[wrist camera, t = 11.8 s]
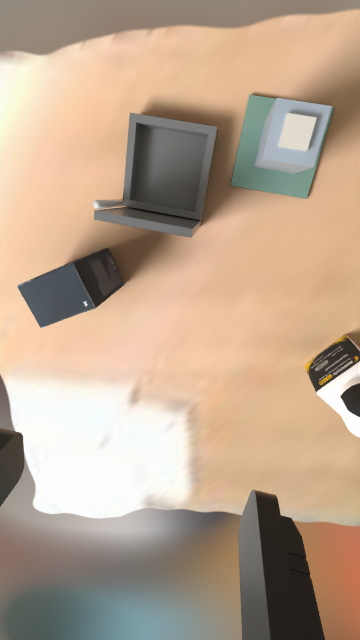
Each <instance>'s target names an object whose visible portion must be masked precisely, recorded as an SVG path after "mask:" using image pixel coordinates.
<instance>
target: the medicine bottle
mask: <svg viewBox="0 0 360 640" xmlns="http://www.w3.org/2000/svg"><path fill="white" fill-rule="evenodd" d="M305 369H306V371H307V373H308V375H309V377H310V380H311V382H312V384H313V386H314V388H315V390H316V393H317V394H318V395H319V396H320V397H321V398H322V399H323V400H324V401H325V402H327V403H328V404H329V405H330V406H331V407H332V408H333V409H334V410H335V411H337V412H338V413H339V414H340V415H341V416H342V418H343V420H344V422H345V424H346V426H347V427H348V429H349V430H350V432H351V433H353V434H354V435H356V436H357V437H360V348H359V347H358V346H357V345H356V344H355V343H354V342H353V341H352V340H351V339H350V338H349V337H348V336H347V335H343V336H342V337H341V338H339V339H338V340H337V341H335V342H334V343H333V344H331V345H330V346H329V347H327V348H326V349H325V350H323V351H322V352H321V353H319V354H318V355H317V356H315V357H314V358H313V359H311V360H310V361H309V362H308V363H306V364H305Z"/></svg>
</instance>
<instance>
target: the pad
mask: <svg viewBox="0 0 360 640" xmlns="http://www.w3.org/2000/svg"><path fill="white" fill-rule="evenodd" d="M275 101H276V99H274V98H268V97H261V96H255V95H249V100H248V104H247V109H246V114H245V119H244V124H243V128H242V133H241V138H240V143H239V148H238V152H237V157H236V162H235V167H234V171H233V176H232V181H231V186H236V187H242V188H248V189H253V190H259V191H265V192H271V193H276V194H282V195H288V196H294V197H299V198H305V199H307V196H308V193H309V189H310V186H311V183H312V180H313V176H314V173H315V170H316V166H317V163H318V160H319V157H320V153H321V150H322V147H323V144H324V140H325V137H326V134H327V130H328V127H329V124H330V121H331V117H332V114H333V111H334V108H333V107H332V108H331V112H330V115H329V118H328V122H327V125H326V128H325V132H324V135H323V138H322V141H321V145H320V148H319V151H318V155H317V158H316V161H315V165H314V167H313V168H310V169H306V170H303V171H300V172H297V173H294V174H291V173H285V172H279V171H273V170H267V169H262V168H256V167H254V164H255V160H256V156H257V151H258V147H259V143H260V139H261V134H262V130H263V126H264V122H265V120H266V118H267V116H268V114H269V112H270V110H271V108H272V106H273V104H274V103H275Z"/></svg>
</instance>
